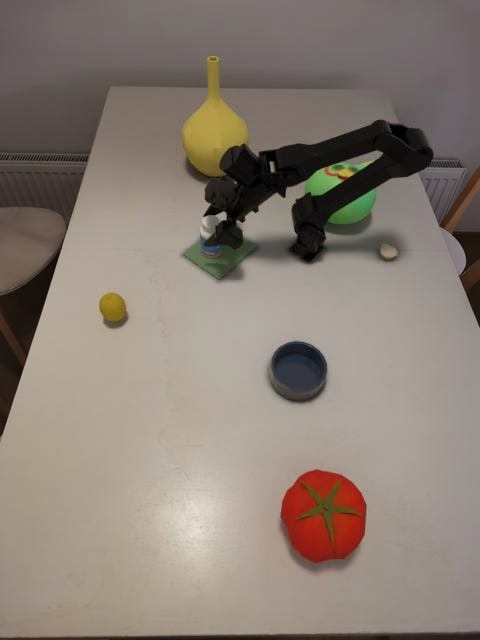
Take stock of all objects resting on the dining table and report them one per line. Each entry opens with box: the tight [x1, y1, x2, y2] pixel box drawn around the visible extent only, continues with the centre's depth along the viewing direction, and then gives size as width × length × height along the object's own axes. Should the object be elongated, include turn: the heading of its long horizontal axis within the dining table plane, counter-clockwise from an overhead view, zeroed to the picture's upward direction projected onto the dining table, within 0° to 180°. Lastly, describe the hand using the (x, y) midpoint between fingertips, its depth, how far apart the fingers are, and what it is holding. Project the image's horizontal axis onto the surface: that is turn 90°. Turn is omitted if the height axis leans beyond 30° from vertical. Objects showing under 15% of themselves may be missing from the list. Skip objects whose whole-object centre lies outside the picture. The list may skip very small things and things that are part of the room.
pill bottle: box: [199, 215, 223, 258], centre depth 103 cm, size 6×5×10 cm
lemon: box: [98, 292, 127, 322], centre depth 93 cm, size 6×6×8 cm
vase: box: [181, 55, 250, 178], centre depth 114 cm, size 18×18×30 cm
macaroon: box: [379, 243, 398, 261], centre depth 107 cm, size 4×5×2 cm
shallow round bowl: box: [269, 340, 328, 401], centre depth 88 cm, size 11×11×4 cm
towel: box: [182, 237, 257, 281], centre depth 108 cm, size 14×12×1 cm
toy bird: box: [304, 159, 377, 225], centre depth 110 cm, size 18×17×15 cm
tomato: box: [279, 468, 368, 564], centre depth 70 cm, size 13×14×12 cm
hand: (204, 231), depth 102 cm, fingers open, 9 cm apart
